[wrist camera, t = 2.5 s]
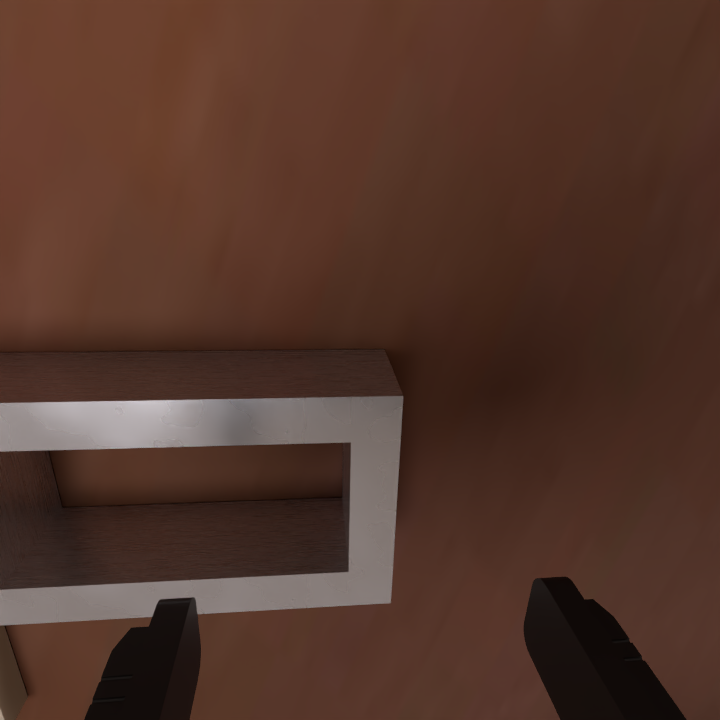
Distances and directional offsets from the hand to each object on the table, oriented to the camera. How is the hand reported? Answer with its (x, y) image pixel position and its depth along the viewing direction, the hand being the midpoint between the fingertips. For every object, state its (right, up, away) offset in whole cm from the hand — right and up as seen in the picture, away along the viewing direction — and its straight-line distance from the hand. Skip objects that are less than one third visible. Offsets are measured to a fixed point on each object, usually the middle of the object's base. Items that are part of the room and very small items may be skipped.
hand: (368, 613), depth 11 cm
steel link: (-6, +3, +7) cm, 10 cm away
